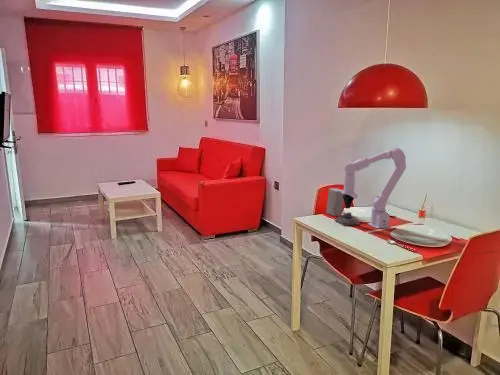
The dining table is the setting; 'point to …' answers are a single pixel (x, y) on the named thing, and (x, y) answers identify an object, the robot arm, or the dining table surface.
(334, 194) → the skincare box
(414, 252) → the dining table surface
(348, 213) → the cap
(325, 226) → the dining table surface
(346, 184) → the robot arm
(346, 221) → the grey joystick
